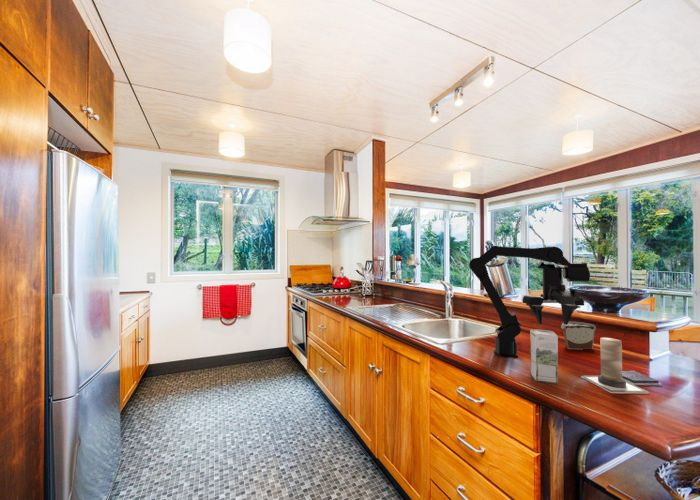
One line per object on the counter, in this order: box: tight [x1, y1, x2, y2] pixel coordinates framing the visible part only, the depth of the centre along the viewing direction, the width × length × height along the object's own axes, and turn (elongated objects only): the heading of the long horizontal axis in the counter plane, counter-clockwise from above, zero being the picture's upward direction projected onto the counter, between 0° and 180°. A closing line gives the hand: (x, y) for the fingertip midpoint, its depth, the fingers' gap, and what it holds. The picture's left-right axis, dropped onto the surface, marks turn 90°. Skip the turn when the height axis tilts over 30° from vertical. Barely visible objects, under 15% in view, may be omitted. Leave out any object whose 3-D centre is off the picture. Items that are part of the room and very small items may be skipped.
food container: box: [560, 321, 597, 350], centre depth 117 cm, size 12×6×10 cm, turn 84°
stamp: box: [597, 337, 626, 388], centre depth 83 cm, size 6×6×13 cm
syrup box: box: [529, 328, 559, 384], centre depth 86 cm, size 6×6×14 cm
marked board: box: [580, 375, 650, 395], centre depth 82 cm, size 10×10×1 cm
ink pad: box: [622, 370, 663, 386], centre depth 86 cm, size 8×8×1 cm
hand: (552, 324), depth 102 cm, fingers open, 9 cm apart
